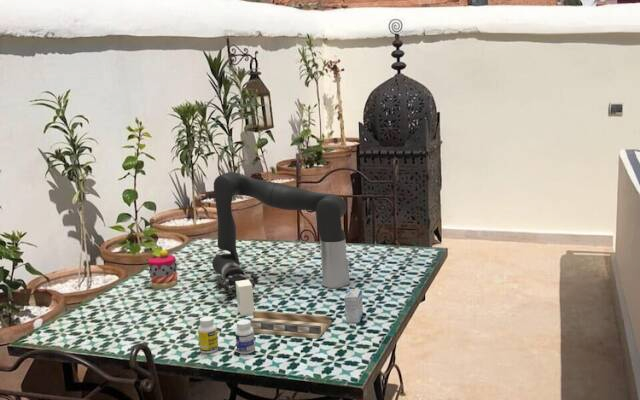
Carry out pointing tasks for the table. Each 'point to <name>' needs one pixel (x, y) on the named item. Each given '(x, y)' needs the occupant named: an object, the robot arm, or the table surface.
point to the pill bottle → (244, 337)
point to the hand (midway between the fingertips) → (240, 287)
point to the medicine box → (353, 306)
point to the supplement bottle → (207, 335)
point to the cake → (162, 269)
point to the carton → (244, 297)
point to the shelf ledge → (289, 324)
